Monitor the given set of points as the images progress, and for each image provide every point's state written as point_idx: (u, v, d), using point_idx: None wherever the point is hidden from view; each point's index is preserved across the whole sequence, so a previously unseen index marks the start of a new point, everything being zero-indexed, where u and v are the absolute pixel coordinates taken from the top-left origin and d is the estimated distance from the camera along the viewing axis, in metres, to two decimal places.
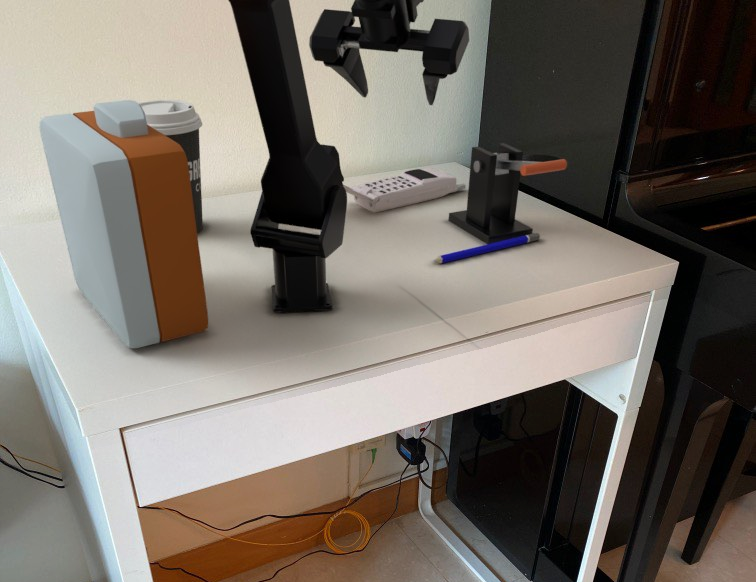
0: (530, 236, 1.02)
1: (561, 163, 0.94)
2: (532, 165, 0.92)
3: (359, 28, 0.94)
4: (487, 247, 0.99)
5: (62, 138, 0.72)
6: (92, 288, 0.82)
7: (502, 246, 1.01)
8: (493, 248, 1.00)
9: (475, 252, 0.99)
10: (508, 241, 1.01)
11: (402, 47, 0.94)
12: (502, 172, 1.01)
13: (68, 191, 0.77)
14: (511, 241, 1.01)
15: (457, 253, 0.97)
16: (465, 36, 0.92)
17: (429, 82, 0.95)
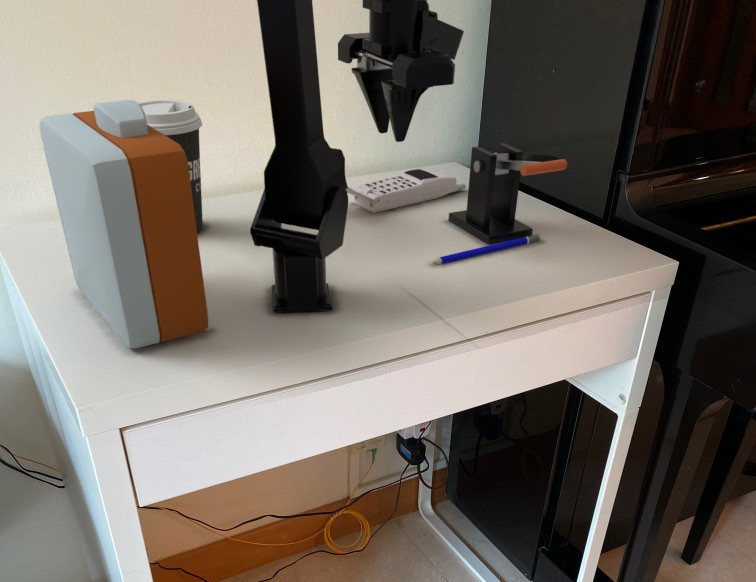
0: (530, 238, 1.03)
1: (561, 163, 0.94)
2: (532, 165, 0.92)
3: None
4: (487, 248, 1.00)
5: (62, 138, 0.72)
6: (92, 288, 0.82)
7: (502, 247, 1.01)
8: (492, 250, 1.00)
9: (475, 253, 0.99)
10: (508, 243, 1.01)
11: None
12: (502, 172, 1.01)
13: (68, 191, 0.77)
14: (511, 243, 1.01)
15: (457, 254, 0.98)
16: (443, 69, 0.86)
17: (387, 96, 0.91)
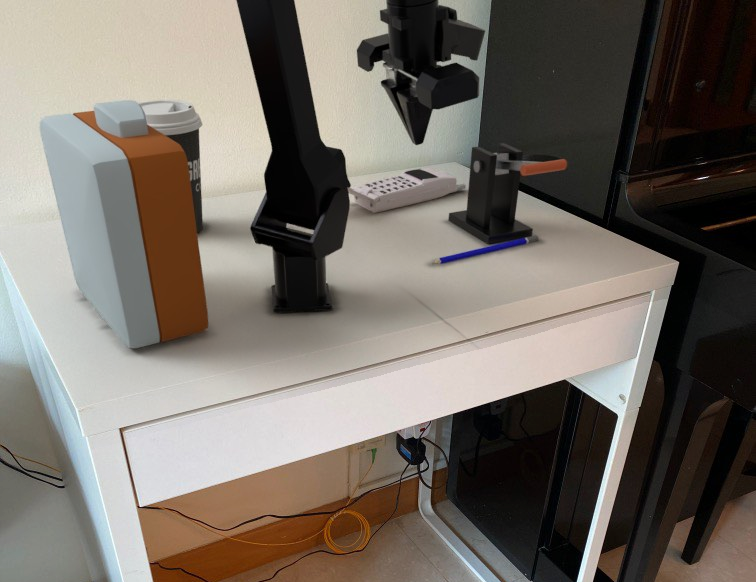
0: (529, 238, 1.03)
1: (561, 163, 0.94)
2: (532, 165, 0.92)
3: None
4: (486, 249, 1.00)
5: (62, 138, 0.72)
6: (92, 288, 0.82)
7: (501, 248, 1.01)
8: (491, 251, 1.00)
9: (474, 254, 0.99)
10: (507, 243, 1.01)
11: None
12: (502, 172, 1.01)
13: (68, 191, 0.77)
14: (510, 243, 1.02)
15: (456, 256, 0.98)
16: (468, 85, 0.85)
17: (403, 106, 0.92)
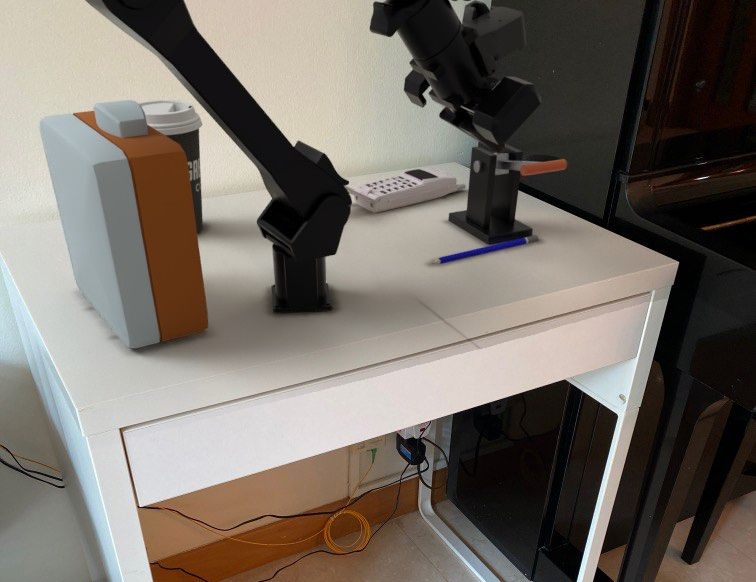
0: (529, 238, 1.03)
1: (561, 163, 0.94)
2: (532, 165, 0.92)
3: None
4: (485, 249, 1.00)
5: (62, 138, 0.72)
6: (92, 288, 0.82)
7: (500, 248, 1.01)
8: (491, 250, 1.00)
9: (473, 254, 0.99)
10: (506, 243, 1.01)
11: (476, 103, 0.84)
12: (502, 172, 1.01)
13: (68, 191, 0.77)
14: (509, 243, 1.02)
15: (455, 255, 0.98)
16: (526, 101, 0.79)
17: (470, 134, 0.87)
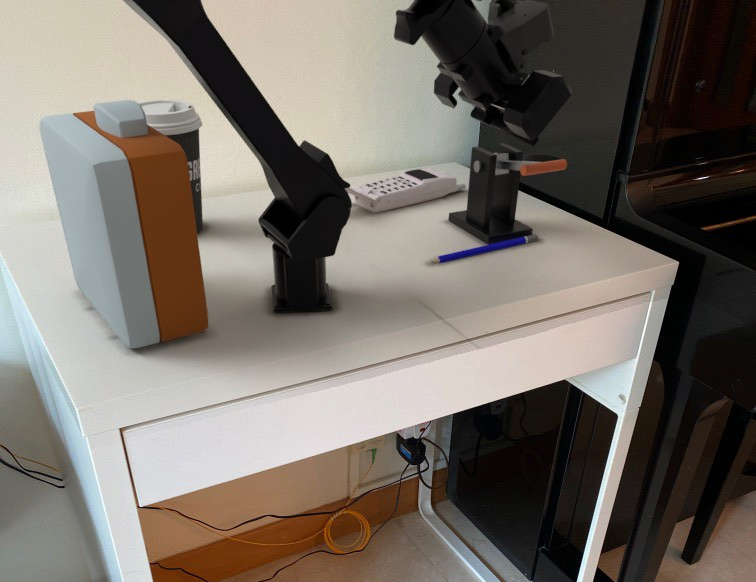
0: (528, 237, 1.03)
1: (561, 163, 0.94)
2: (532, 165, 0.92)
3: None
4: (485, 248, 1.00)
5: (62, 138, 0.72)
6: (92, 288, 0.82)
7: (500, 247, 1.01)
8: (490, 249, 1.00)
9: (473, 253, 0.99)
10: (506, 242, 1.01)
11: None
12: (502, 172, 1.01)
13: (68, 191, 0.77)
14: (509, 242, 1.02)
15: (454, 254, 0.98)
16: (556, 94, 0.78)
17: (502, 131, 0.87)
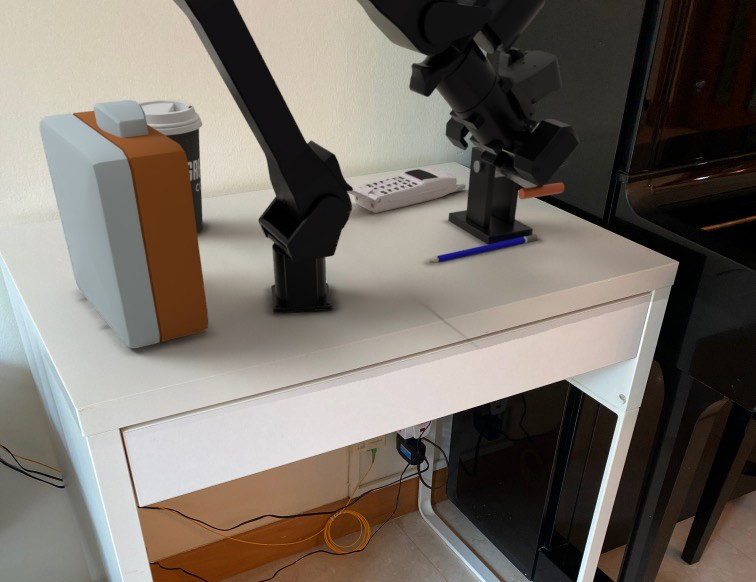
0: (528, 238, 1.03)
1: (559, 188, 0.96)
2: (530, 190, 0.94)
3: None
4: (484, 248, 1.00)
5: (62, 138, 0.72)
6: (92, 288, 0.82)
7: (499, 247, 1.01)
8: (490, 249, 1.01)
9: (472, 253, 0.99)
10: (505, 242, 1.01)
11: (516, 145, 0.88)
12: (501, 175, 1.01)
13: (68, 191, 0.77)
14: (508, 242, 1.02)
15: (453, 254, 0.98)
16: (564, 143, 0.82)
17: None
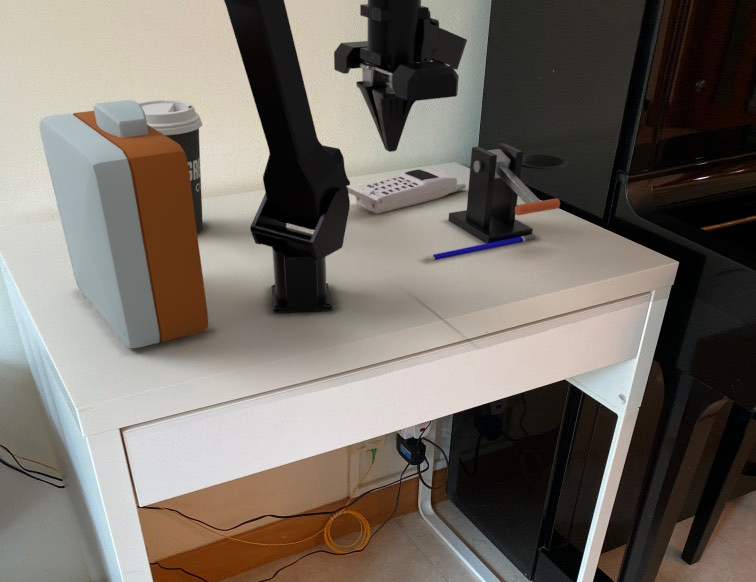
0: (525, 237, 1.03)
1: (554, 205, 0.97)
2: (527, 207, 0.95)
3: None
4: (481, 247, 1.01)
5: (62, 138, 0.72)
6: (92, 288, 0.82)
7: None
8: (487, 248, 1.01)
9: (468, 252, 1.00)
10: (503, 242, 1.02)
11: None
12: (499, 176, 1.02)
13: (68, 191, 0.77)
14: (506, 242, 1.02)
15: (450, 253, 0.99)
16: (446, 81, 0.82)
17: (378, 105, 0.88)
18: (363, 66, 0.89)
